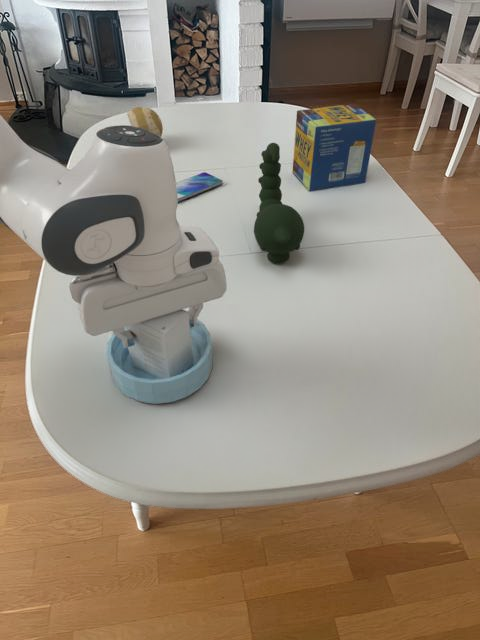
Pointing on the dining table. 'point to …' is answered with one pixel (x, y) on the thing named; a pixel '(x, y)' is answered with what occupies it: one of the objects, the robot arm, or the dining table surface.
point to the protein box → (332, 146)
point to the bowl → (161, 390)
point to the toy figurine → (276, 213)
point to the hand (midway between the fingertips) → (160, 334)
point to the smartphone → (196, 185)
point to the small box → (162, 345)
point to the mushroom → (145, 120)
